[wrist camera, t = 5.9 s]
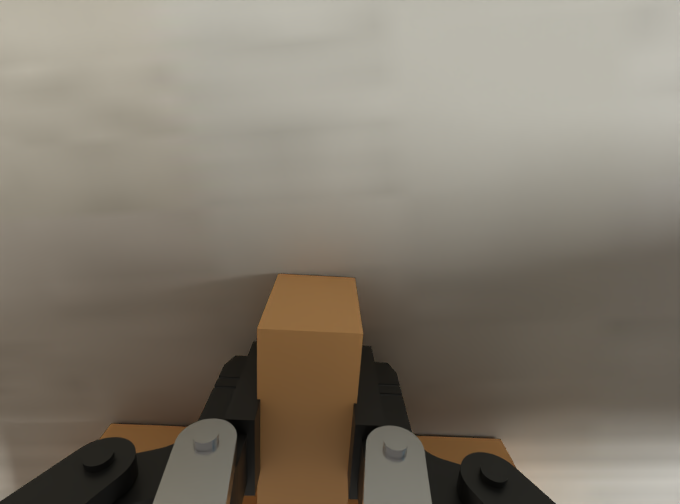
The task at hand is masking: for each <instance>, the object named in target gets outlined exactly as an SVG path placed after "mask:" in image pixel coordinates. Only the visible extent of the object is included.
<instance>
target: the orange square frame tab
mask: <svg viewBox="0 0 680 504" xmlns="http://www.w3.org/2000/svg"><path fill="white" fill-rule="evenodd" d="M362 342H363V329H362V322H361V315H360V308H359V302H358V295H357V288H356V281H355V278H350V277H331V276H312V275H294V274H278V276H277V279H276V281H275V284H274V286H273V289H272V291H271V294H270V296H269V299H268V302H267V304H266V307H265V309H264V312H263V314H262V317H261V320H260V322H259V325H258V327H257V399H260V475H259V479H258V484H257V489H256V493H255V496H244V498H243V502H242V504H358V500H355V499H348V477H347V473H348V462H349V451H350V439H351V428H352V417H353V405H354V403H356V404H357V397H358V386H359V375H360V364H361V353H362ZM185 428H186V427H184V426H158V425H133V424H111V425H110V426H109V427H108V429H107V430H106V431H105V432H104V434H103V435H102V436H101V438H100V439H103V438H109V437H121V438H125V439H128V440H129V441H131V442H132V443H133V444H134V446H135V449H136V453H140V452H145V451H149V450H154V449H159V448H163V447H166V446H169V445H172V444H174V443H175V440H176V438H177V437H178V435H179V434H180V433H181V432H182V431H183V430H184V429H185ZM417 437H418V438H419V440H420V441H421V443H422V445H423V447H424V450H426V451H427V452H429V453H430V454H432V455H434V456H436V457H438V458H441V459H444V460H447V461H451V462H454V463H457V464H460V465H461V462H462V460H463V459H464V458H465V457H466V456H467V455H469V454H471V453H475V452H485V453H490V454H494V455H496V456H499V457H501V458H503V459H505V460H506V461H508V462H509V463H510V464H512V465H513V466H514V467H515V465H514V463H513V461H512V459H511V457H510V456H509V454H508V452H507V450H506V448H505V446H504V445H503V443H502V441H501V439H489V438H463V437H438V436H417ZM100 439H99V440H100ZM515 468H516V467H515ZM516 469H517V468H516Z"/></svg>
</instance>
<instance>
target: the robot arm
mask: <svg viewBox="0 0 680 504" xmlns="http://www.w3.org/2000/svg"><path fill="white" fill-rule="evenodd" d="M259 475H260V399H257V341H254V342H253V344H252V347H251V349H250V352H249V354H248V356H235V357H234V358H232V359H231V360H230V361H229V362H228V363H226V364H225V365H224V367H223V369H222V371H221V373H220V376H219V379H218V380H217V382H216V384H215V388H213V390H212V393H211V395H210V397H209V399H208V401H207V403H206V405H205V408H204V410H203V412H202V414H201V416H200V418H199V420H198V421H197V422H195V423H193V424H191V425H189V426H188V427H186V428H185V429H184V430H183V431H182V432H181V433H180V434H179V435H178V437H177V438H176V440H175V443H174V444H172V445H169V446H166V447H163V448H159V449H154V450H149V451H145V452H140V453H136V449H135V446H134V444H133V443H132V442H131V441H129V440H128V439H125V438H121V437H109V438H103V439H100V440H96V441H94V442H91V443H89V444H87V445H85V446H83V447H82V448H80V449H78V450H77V451H75V452H74V453H72V454H71V455H69V456H68V457H66V458H65V459H63V460H62V461H60V462H59V463H57V464H56V465H54V466H53V467H51V468H50V469H48V470H47V471H45V472H44V473H42V474H41V475H39V476H38V477H36V478H35V479H33V480H32V481H30V482H29V483H27V484H26V485H24V486H23V487H21V488H20V489H18V490H17V491H15V492H14V493H12V494H11V495H9V496H8V497H6V498H5V499H3V500H2V501H0V504H242V502H243V498H244V496H255V493H256V489H257V484H258V479H259ZM347 477H348V499H355V500H358V504H556V503H554V502H553V501H552V500H551V499H550V498H549V497H548V496H547V495H545V494H544V493H543V492H542V491H541V490H540V489H539V488H538V487H537V486H535V485H534V484H533V483H532V482H531V481H530V480H529V479H528V478H526V477H525V476H524V475H523V474H522V473H521V472H520V471H519V470H517V469H516V468H515V467H514V466H513V465H512V464H510V463H509V462H508V461H506V460H505V459H503V458H501V457H499V456H496V455H494V454H490V453H485V452H475V453H471V454H469V455H467V456H466V457H465V458H464V459H463V460H462V462H461V465H460V464H457V463H454V462H451V461H447V460H444V459H441V458H438V457H436V456H434V455H432V454H430V453H429V452H427V451H426V450H424V447H423V445H422V443H421V441H420V440H419V438H418V437H417V436H416V435H414V434H413V433H412V431H411V427H410V424H409V420H408V416H407V412H406V408H405V404H404V401H403V397H402V393H401V389H400V387H399V381H398V378H397V374H396V372H395V371H394V370H393V369H392V368H391V367H390V365H389V364H388V363H379V362H374V358H373V353H372V347H371V346H362V353H361V364H360V375H359V386H358V397H357V404H356V403H354V405H353V417H352V428H351V439H350V451H349V462H348V473H347Z"/></svg>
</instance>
